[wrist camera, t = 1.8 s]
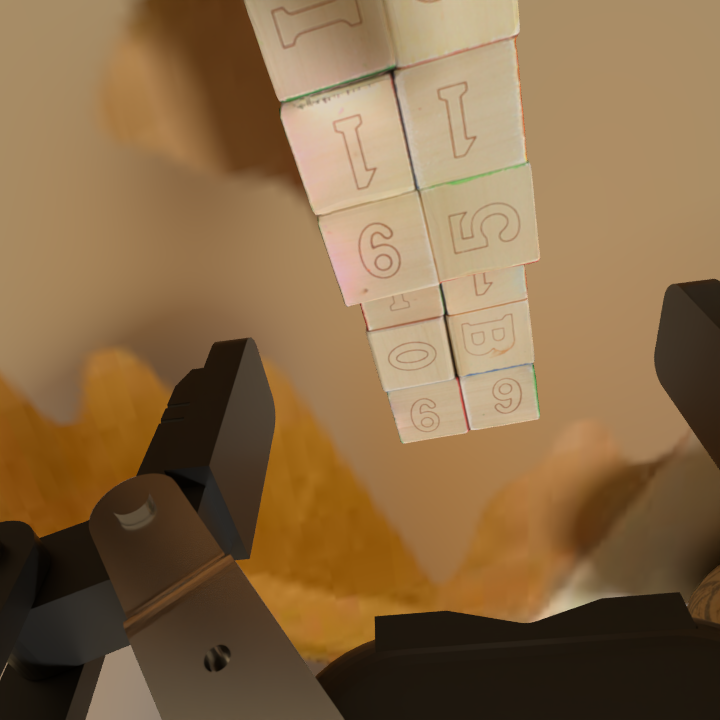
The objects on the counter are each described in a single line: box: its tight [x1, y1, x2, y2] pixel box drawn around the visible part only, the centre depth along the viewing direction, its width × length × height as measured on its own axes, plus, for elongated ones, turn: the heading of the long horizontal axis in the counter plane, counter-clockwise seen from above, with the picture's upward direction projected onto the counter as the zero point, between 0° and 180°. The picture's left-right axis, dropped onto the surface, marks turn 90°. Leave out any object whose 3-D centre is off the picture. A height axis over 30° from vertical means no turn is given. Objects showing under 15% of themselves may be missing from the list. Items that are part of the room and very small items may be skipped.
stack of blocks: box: [244, 0, 540, 443], centre depth 21 cm, size 21×6×12 cm, turn 14°
